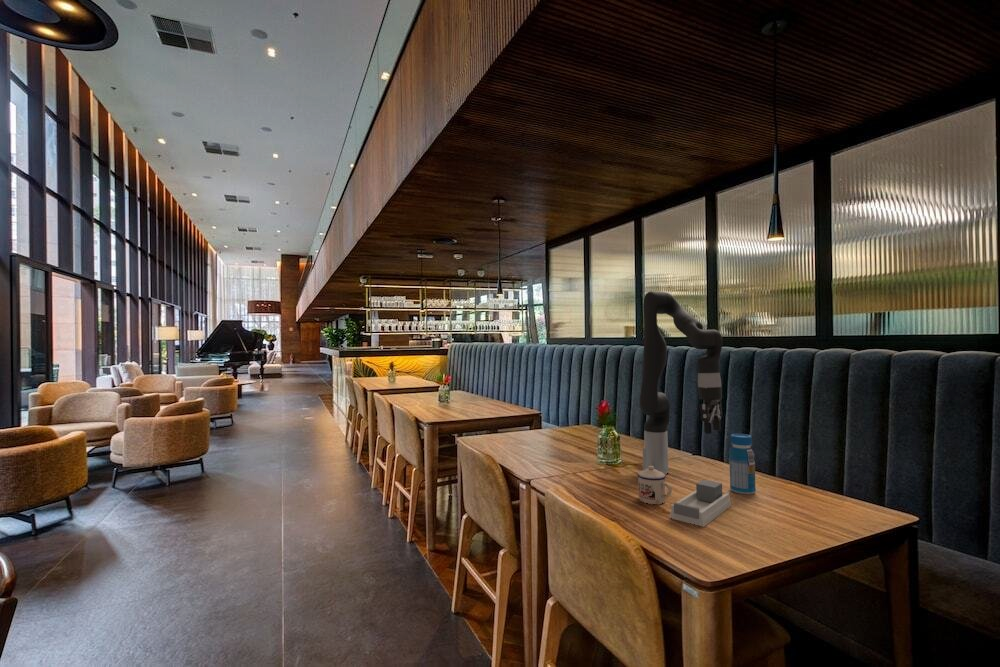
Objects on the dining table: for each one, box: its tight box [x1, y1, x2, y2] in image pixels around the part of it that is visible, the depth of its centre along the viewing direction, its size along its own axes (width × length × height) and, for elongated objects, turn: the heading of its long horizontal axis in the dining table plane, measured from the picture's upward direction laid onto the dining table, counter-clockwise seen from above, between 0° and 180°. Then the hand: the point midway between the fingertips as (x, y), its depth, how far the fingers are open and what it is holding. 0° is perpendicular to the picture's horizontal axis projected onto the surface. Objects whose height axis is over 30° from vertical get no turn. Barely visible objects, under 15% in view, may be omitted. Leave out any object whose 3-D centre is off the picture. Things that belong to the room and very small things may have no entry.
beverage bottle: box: [728, 433, 757, 495], centre depth 164 cm, size 8×8×20 cm
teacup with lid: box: [637, 466, 673, 505], centre depth 154 cm, size 12×9×12 cm
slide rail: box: [669, 490, 732, 528], centre depth 144 cm, size 10×24×5 cm, turn 135°
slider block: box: [695, 479, 723, 503], centre depth 149 cm, size 6×6×5 cm
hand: (712, 431), depth 160 cm, fingers open, 8 cm apart
